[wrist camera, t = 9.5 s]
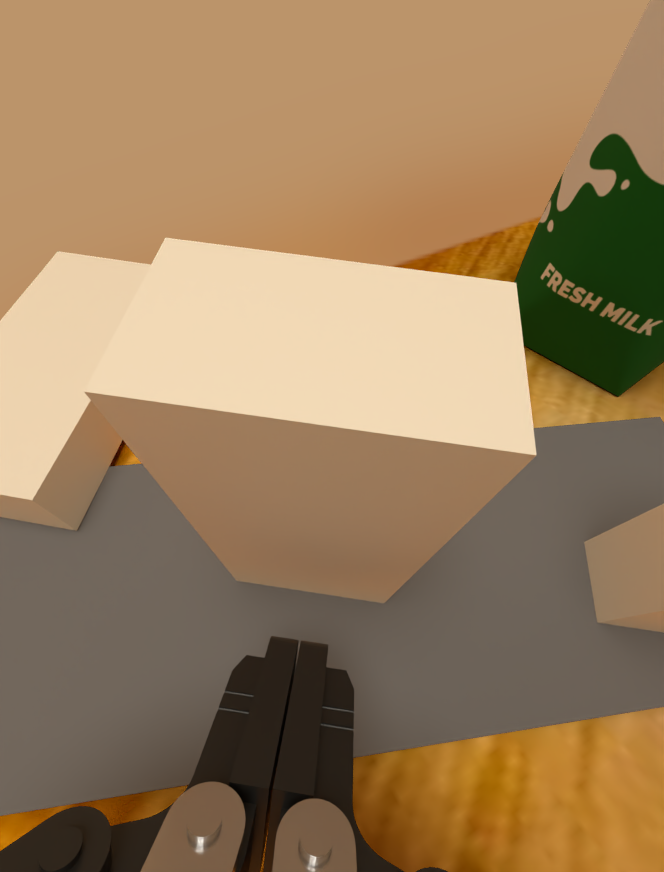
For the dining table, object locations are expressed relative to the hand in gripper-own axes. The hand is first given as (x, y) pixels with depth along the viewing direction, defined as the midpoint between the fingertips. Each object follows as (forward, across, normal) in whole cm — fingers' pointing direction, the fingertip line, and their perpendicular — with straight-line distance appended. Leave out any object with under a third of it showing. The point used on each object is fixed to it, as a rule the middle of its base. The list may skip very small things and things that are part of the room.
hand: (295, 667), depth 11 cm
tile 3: (+4, +12, -1) cm, 13 cm away
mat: (+5, -1, +1) cm, 5 cm away
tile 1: (+6, 0, 0) cm, 6 cm away
